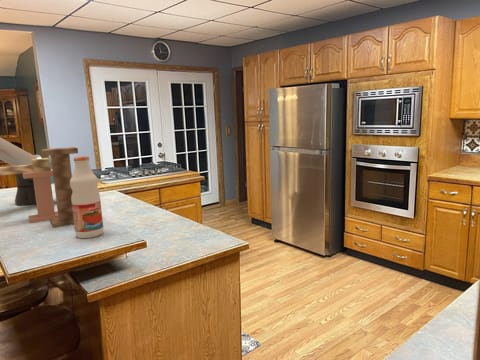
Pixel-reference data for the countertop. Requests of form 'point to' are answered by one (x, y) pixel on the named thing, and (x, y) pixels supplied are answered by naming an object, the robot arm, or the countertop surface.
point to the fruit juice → (85, 200)
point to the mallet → (28, 167)
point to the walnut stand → (62, 183)
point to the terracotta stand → (42, 196)
